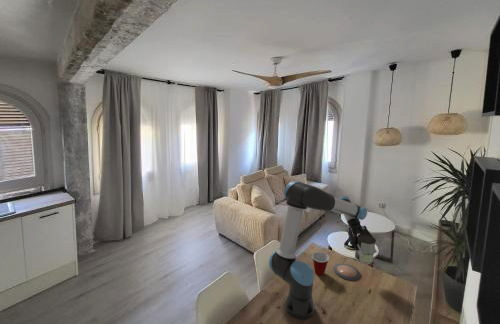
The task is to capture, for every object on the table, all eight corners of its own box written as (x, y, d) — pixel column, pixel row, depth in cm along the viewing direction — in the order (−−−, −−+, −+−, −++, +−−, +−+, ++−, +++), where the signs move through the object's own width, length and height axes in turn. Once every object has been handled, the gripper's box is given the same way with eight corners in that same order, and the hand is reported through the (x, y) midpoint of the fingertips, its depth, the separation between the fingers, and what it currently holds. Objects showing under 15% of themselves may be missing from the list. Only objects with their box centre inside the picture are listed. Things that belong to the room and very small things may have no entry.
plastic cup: (307, 268, 157) (309, 252, 155) (323, 267, 159) (324, 251, 157) (314, 279, 147) (316, 261, 144) (330, 277, 148) (332, 260, 146)
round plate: (335, 278, 148) (336, 276, 148) (332, 263, 163) (332, 261, 163) (362, 282, 145) (363, 280, 145) (356, 266, 161) (356, 265, 160)
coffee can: (351, 257, 147) (353, 236, 145) (360, 252, 153) (363, 232, 150) (366, 266, 139) (369, 244, 136) (376, 260, 145) (379, 239, 142)
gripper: (362, 219, 161) (378, 252, 149) (335, 223, 153) (349, 259, 141) (369, 215, 155) (386, 249, 143) (341, 219, 147) (357, 255, 136)
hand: (368, 254), depth 142 cm, fingers closed on coffee can, 10 cm apart
